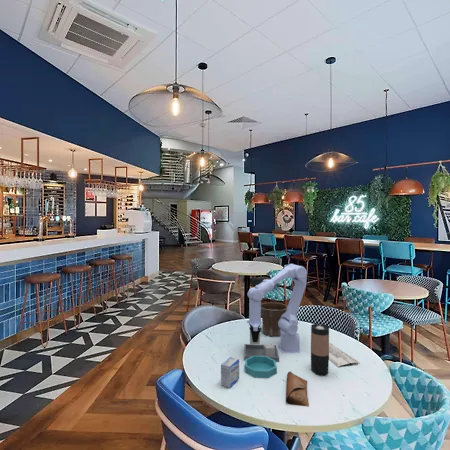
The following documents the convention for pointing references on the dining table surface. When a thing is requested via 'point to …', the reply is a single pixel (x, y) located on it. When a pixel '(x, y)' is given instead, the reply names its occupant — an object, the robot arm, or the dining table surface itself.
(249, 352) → the parts tray
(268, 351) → the light gray cube block
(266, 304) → the plant pot
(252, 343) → the white rectangular block
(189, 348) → the dining table surface
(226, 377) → the medicine box
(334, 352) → the newspaper
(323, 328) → the travel mug
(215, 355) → the dining table surface
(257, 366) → the bowl
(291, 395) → the sunglasses case
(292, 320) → the robot arm
